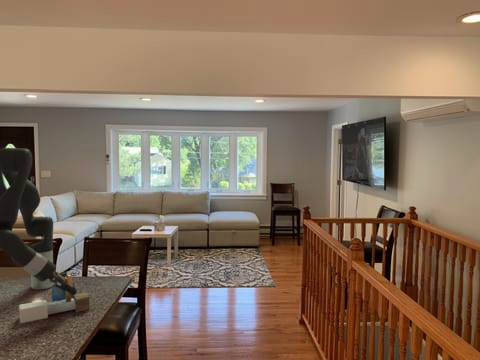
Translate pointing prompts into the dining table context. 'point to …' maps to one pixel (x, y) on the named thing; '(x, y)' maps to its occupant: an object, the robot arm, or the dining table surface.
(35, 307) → the pale white block
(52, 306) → the grey bar with post
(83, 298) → the socket block
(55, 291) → the perfume bottle
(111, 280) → the dining table surface
